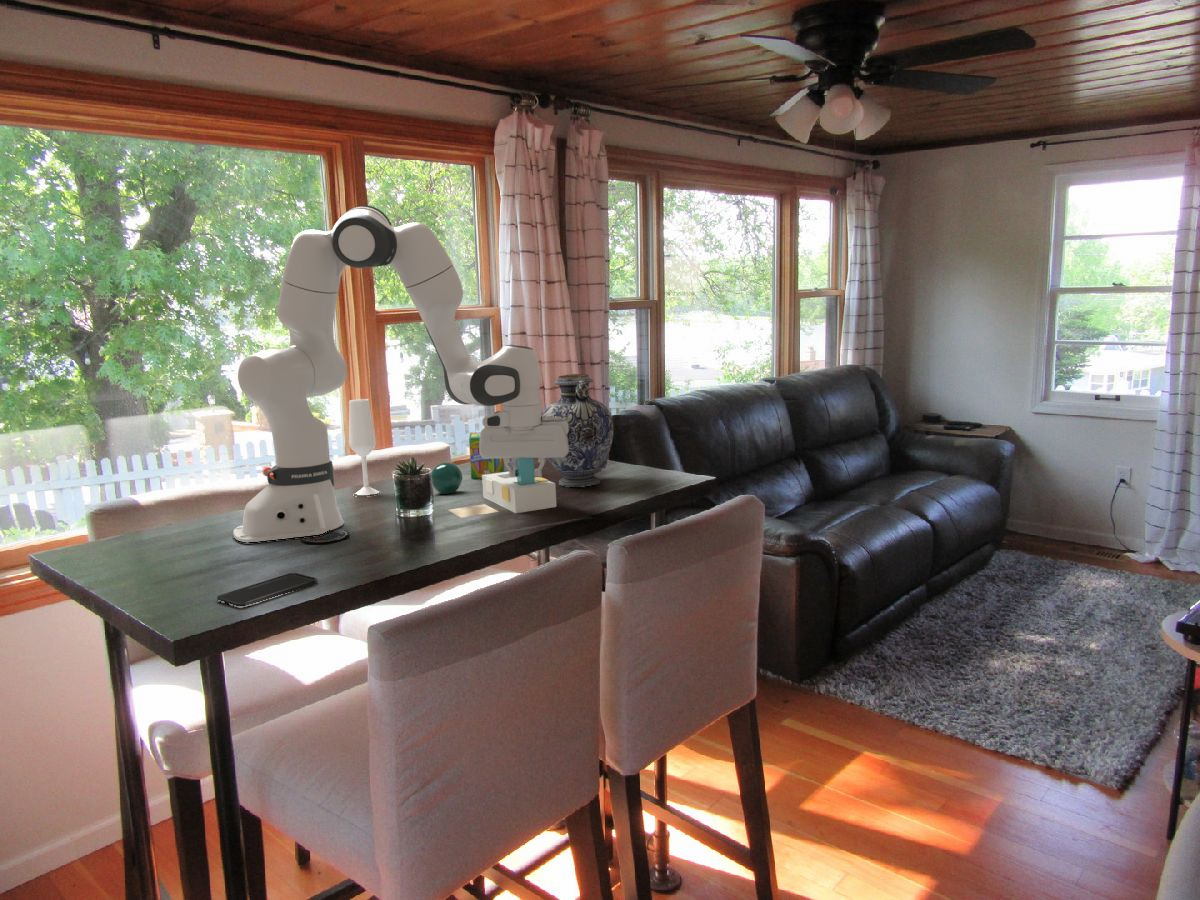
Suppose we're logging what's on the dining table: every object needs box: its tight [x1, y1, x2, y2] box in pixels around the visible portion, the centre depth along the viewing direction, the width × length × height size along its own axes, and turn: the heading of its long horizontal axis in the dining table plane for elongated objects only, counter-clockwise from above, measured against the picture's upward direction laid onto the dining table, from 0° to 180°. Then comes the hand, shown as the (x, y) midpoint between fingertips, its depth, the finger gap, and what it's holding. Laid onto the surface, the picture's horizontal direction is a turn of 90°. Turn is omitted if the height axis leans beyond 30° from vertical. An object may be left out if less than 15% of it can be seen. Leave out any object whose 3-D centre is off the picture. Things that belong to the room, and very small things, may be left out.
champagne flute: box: [348, 398, 380, 495], centre depth 220 cm, size 7×7×24 cm
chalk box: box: [468, 431, 505, 480], centre depth 239 cm, size 9×9×15 cm
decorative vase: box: [542, 373, 614, 488], centre depth 222 cm, size 21×19×28 cm
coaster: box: [447, 503, 500, 519], centre depth 197 cm, size 9×9×1 cm
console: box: [481, 471, 557, 514], centre depth 204 cm, size 10×20×6 cm, turn 28°
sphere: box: [430, 461, 463, 495], centre depth 218 cm, size 8×8×8 cm
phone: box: [216, 572, 319, 606], centre depth 147 cm, size 8×1×15 cm
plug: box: [515, 458, 535, 486], centre depth 198 cm, size 3×3×9 cm
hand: (525, 477), depth 199 cm, fingers closed on plug, 4 cm apart
